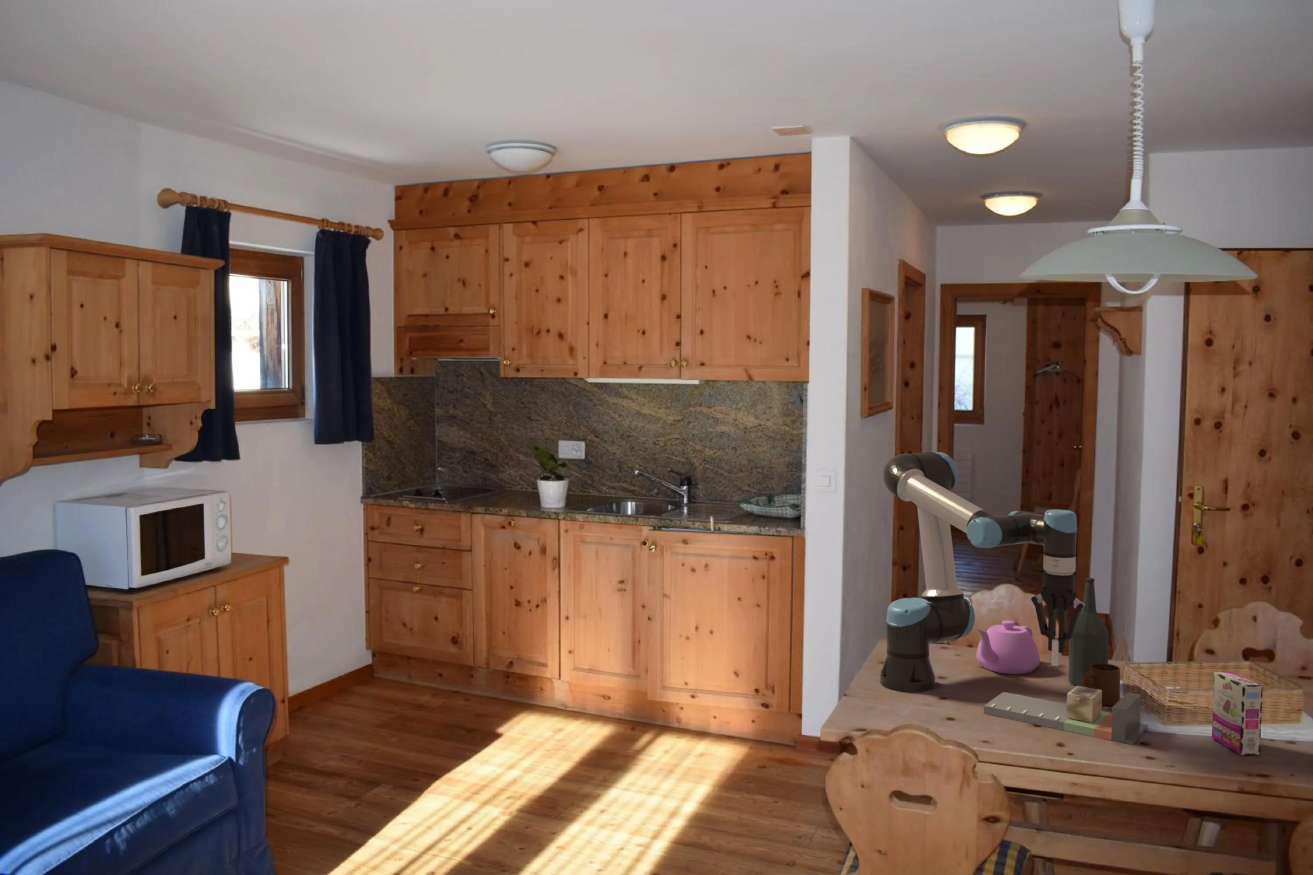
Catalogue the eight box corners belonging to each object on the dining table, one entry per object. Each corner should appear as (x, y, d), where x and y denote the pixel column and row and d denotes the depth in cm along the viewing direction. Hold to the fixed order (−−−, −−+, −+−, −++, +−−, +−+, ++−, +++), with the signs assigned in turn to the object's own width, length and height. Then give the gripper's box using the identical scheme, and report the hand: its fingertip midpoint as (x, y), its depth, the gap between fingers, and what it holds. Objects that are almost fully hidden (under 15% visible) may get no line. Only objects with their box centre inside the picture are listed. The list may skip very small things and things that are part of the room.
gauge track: (983, 713, 263) (983, 704, 263) (1003, 699, 274) (1003, 690, 274) (1111, 740, 244) (1111, 730, 244) (1127, 723, 255) (1127, 714, 255)
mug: (1096, 711, 264) (1097, 675, 263) (1071, 702, 271) (1072, 668, 270) (1126, 703, 270) (1126, 668, 269) (1100, 695, 277) (1101, 661, 276)
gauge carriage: (1064, 719, 251) (1064, 694, 251) (1076, 708, 259) (1076, 684, 259) (1089, 724, 248) (1090, 699, 247) (1101, 713, 256) (1101, 689, 255)
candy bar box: (1261, 755, 234) (1264, 685, 232) (1241, 756, 233) (1243, 685, 232) (1230, 737, 245) (1232, 670, 244) (1210, 738, 244) (1212, 671, 243)
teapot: (1006, 653, 317) (1006, 609, 316) (1057, 667, 303) (1058, 621, 302) (953, 667, 303) (954, 622, 302) (1004, 682, 288) (1005, 634, 287)
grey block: (1111, 740, 244) (1112, 707, 243) (1127, 723, 255) (1127, 692, 254) (1132, 744, 241) (1133, 711, 240) (1147, 727, 252) (1148, 695, 251)
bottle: (1090, 676, 293) (1092, 573, 290) (1115, 687, 283) (1118, 580, 281) (1060, 680, 289) (1062, 575, 287) (1084, 691, 280) (1087, 582, 278)
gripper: (1027, 571, 257) (1025, 663, 259) (1081, 578, 249) (1078, 673, 251) (1037, 566, 263) (1034, 656, 265) (1090, 572, 255) (1087, 665, 257)
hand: (1056, 664), depth 258 cm, fingers closed
